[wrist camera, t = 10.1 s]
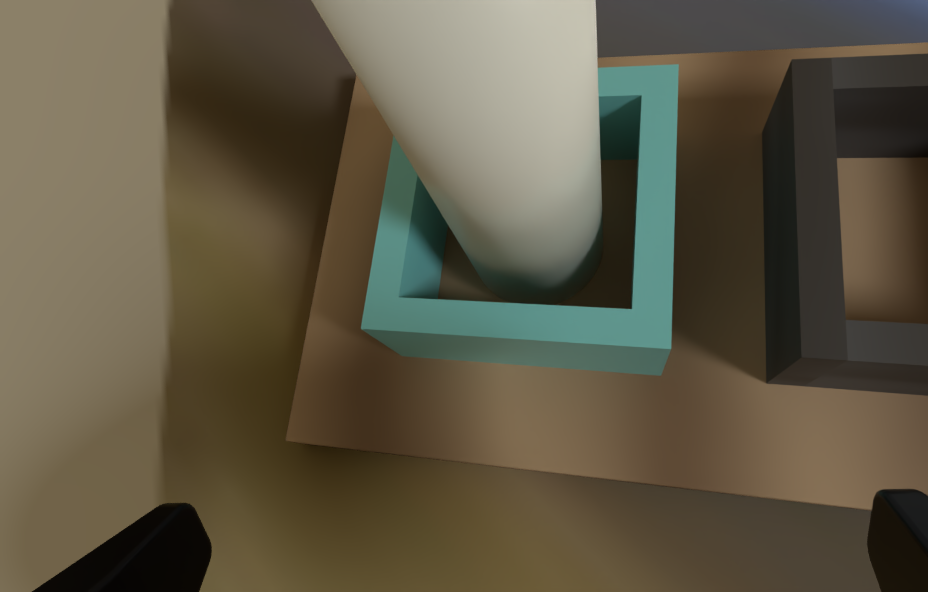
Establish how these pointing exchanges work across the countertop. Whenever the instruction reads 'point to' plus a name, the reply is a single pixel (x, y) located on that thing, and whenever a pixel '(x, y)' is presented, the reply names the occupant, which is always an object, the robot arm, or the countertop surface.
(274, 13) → the countertop surface
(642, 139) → the port
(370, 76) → the plug
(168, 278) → the countertop surface
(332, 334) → the panel board
